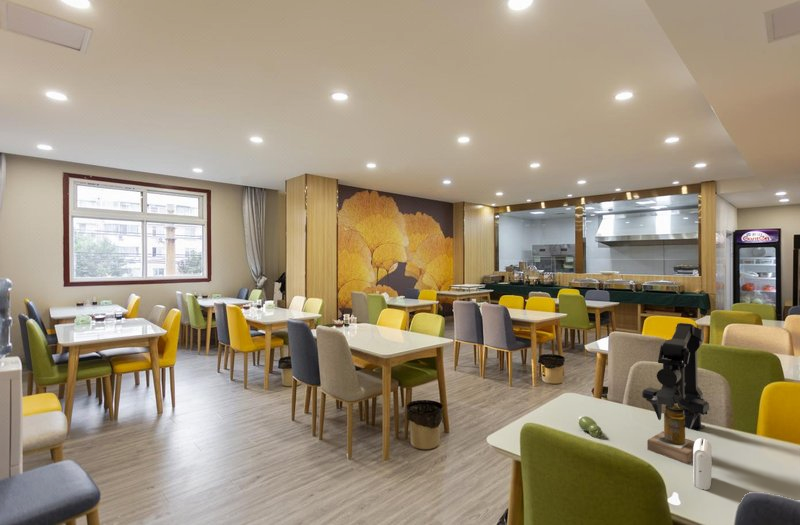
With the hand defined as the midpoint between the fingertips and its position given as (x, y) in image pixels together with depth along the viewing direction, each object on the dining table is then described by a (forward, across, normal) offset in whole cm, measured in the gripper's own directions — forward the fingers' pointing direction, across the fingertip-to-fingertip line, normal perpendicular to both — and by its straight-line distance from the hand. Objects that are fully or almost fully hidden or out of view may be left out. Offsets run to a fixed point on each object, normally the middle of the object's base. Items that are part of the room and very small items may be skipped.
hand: (674, 424), depth 138 cm
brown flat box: (+10, 0, 0) cm, 10 cm away
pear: (+10, -25, -10) cm, 28 cm away
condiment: (+6, 0, 0) cm, 6 cm away
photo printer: (+10, +13, -14) cm, 21 cm away
